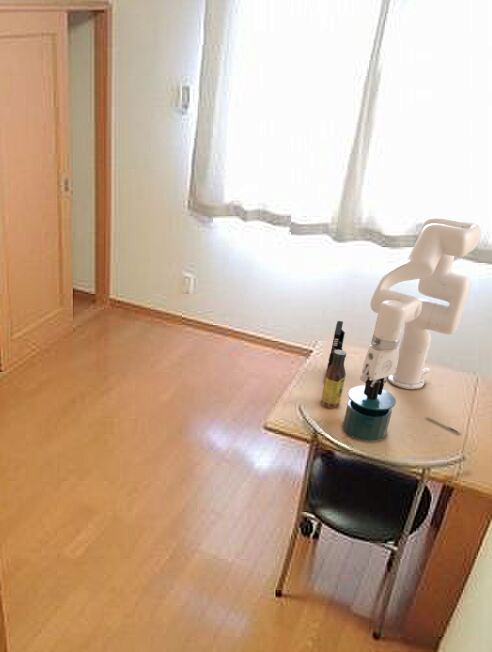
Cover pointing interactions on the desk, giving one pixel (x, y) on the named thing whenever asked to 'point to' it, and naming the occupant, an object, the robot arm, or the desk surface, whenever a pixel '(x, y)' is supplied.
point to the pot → (366, 422)
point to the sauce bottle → (334, 380)
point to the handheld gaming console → (336, 341)
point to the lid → (376, 401)
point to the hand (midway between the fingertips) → (372, 393)
